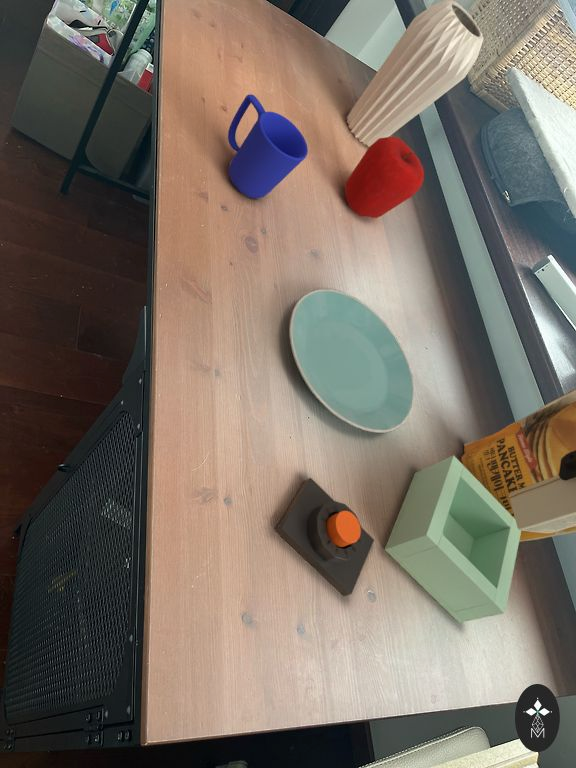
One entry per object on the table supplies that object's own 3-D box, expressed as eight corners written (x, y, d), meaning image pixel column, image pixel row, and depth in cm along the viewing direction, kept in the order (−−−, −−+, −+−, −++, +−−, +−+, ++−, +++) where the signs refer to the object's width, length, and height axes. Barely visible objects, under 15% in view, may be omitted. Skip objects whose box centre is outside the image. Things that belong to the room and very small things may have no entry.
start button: (354, 529, 70) (364, 525, 69) (343, 553, 68) (354, 549, 67) (333, 508, 70) (343, 503, 69) (321, 532, 67) (331, 527, 66)
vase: (339, 139, 115) (447, 21, 97) (332, 93, 122) (431, -26, 103) (391, 169, 122) (500, 64, 104) (381, 124, 129) (482, 18, 111)
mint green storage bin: (480, 539, 88) (522, 526, 83) (459, 623, 78) (505, 613, 73) (414, 472, 85) (453, 455, 81) (384, 549, 75) (426, 534, 71)
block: (367, 542, 74) (384, 535, 72) (344, 596, 69) (362, 591, 67) (304, 480, 73) (320, 472, 71) (275, 530, 67) (291, 523, 65)
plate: (249, 343, 77) (262, 332, 75) (325, 275, 93) (337, 265, 91) (364, 473, 79) (380, 465, 77) (419, 385, 95) (433, 376, 93)
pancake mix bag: (478, 440, 98) (652, 359, 79) (512, 561, 90) (717, 503, 71) (451, 434, 95) (627, 347, 75) (483, 560, 86) (691, 499, 67)
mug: (236, 138, 95) (273, 89, 88) (277, 202, 94) (317, 157, 87) (197, 140, 89) (233, 87, 82) (241, 208, 88) (281, 160, 81)
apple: (387, 222, 112) (444, 173, 103) (360, 234, 104) (418, 181, 95) (354, 175, 112) (408, 121, 103) (324, 183, 105) (379, 126, 95)
